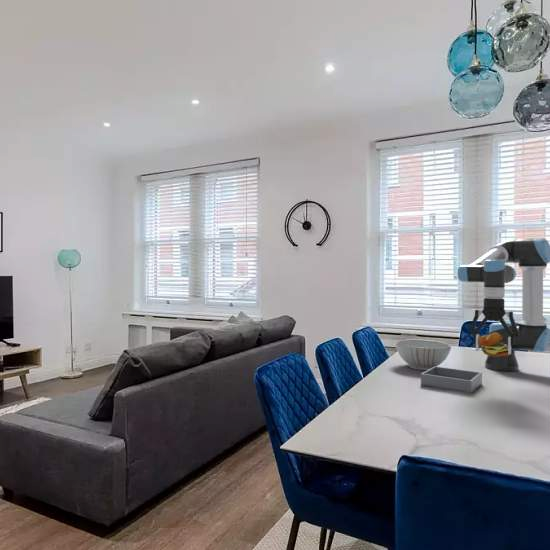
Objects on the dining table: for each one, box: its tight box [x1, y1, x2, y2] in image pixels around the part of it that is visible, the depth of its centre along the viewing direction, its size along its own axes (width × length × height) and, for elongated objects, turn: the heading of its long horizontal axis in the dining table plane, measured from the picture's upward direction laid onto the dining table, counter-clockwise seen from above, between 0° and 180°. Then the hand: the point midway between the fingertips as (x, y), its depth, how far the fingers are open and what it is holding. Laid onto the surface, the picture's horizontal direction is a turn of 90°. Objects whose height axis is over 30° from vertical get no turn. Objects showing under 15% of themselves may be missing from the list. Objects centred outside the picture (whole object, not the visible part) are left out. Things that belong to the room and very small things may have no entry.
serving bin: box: [420, 366, 483, 395], centre depth 188 cm, size 19×20×5 cm
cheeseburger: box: [478, 332, 509, 356], centre depth 179 cm, size 10×11×10 cm
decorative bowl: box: [395, 339, 452, 371], centre depth 222 cm, size 27×27×12 cm
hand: (493, 352), depth 179 cm, fingers closed on cheeseburger, 11 cm apart
